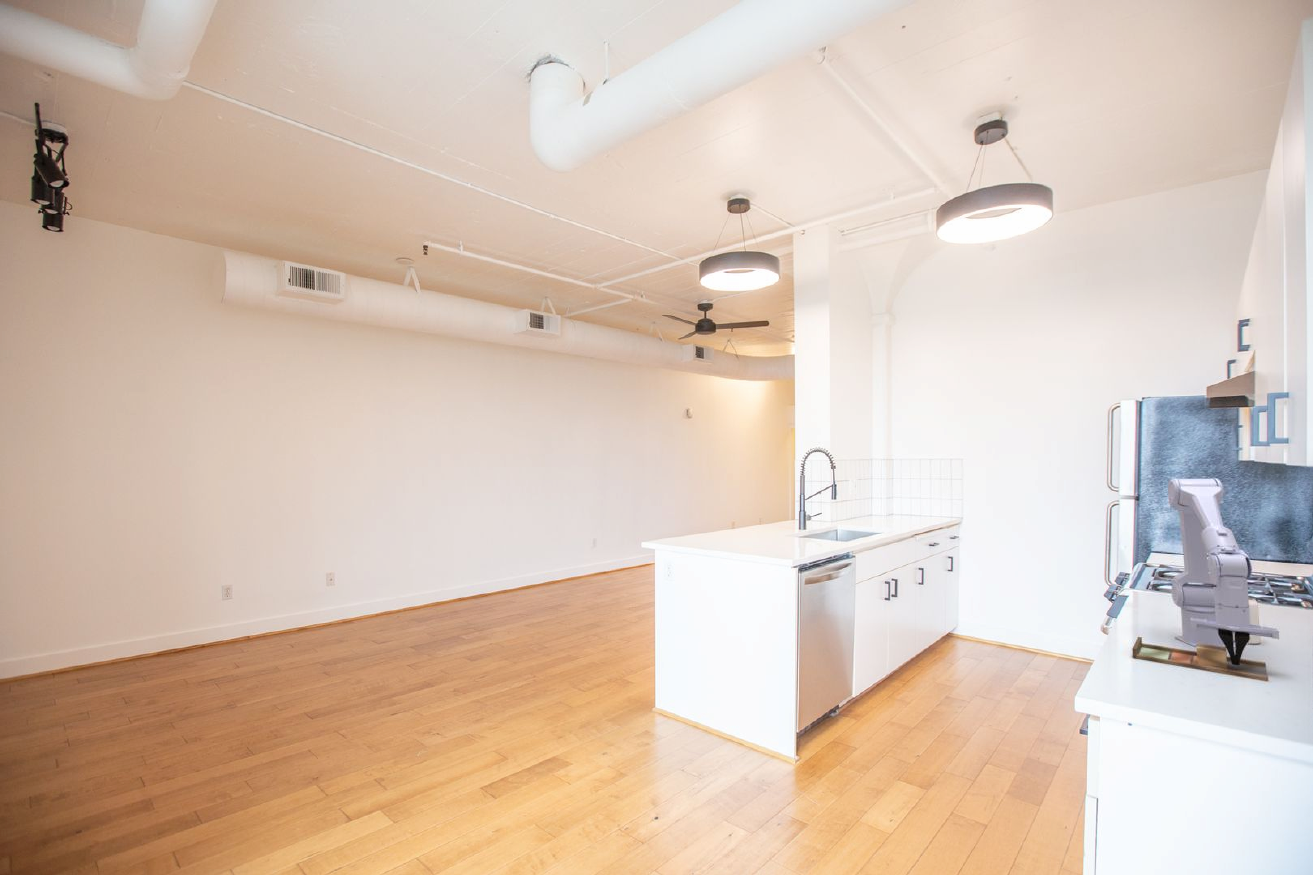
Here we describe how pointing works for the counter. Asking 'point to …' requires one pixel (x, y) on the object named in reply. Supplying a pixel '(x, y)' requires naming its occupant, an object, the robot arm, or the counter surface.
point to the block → (1212, 656)
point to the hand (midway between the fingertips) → (1235, 663)
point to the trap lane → (1190, 661)
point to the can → (1253, 619)
